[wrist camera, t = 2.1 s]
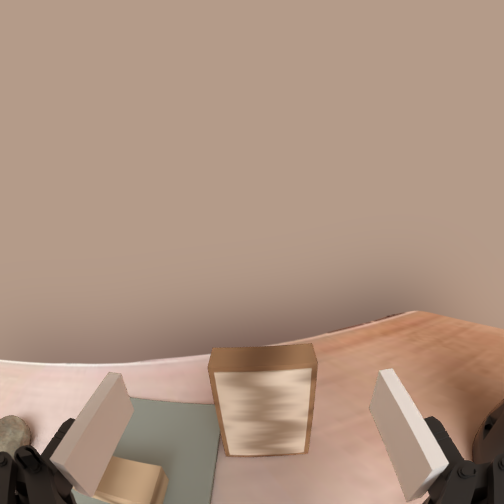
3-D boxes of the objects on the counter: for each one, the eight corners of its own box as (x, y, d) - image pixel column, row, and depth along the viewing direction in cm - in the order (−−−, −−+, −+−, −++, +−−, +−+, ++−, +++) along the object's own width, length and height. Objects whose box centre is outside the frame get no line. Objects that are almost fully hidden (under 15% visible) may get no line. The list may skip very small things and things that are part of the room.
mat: (224, 407, 33) (223, 404, 33) (204, 540, 14) (203, 539, 14) (123, 398, 34) (122, 396, 34) (67, 503, 15) (65, 501, 14)
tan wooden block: (169, 479, 21) (161, 466, 20) (159, 516, 16) (149, 505, 15) (89, 461, 21) (79, 446, 21) (75, 490, 16) (61, 476, 16)
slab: (305, 434, 28) (311, 343, 24) (308, 454, 25) (317, 363, 21) (228, 437, 28) (212, 347, 25) (225, 457, 25) (207, 367, 22)
